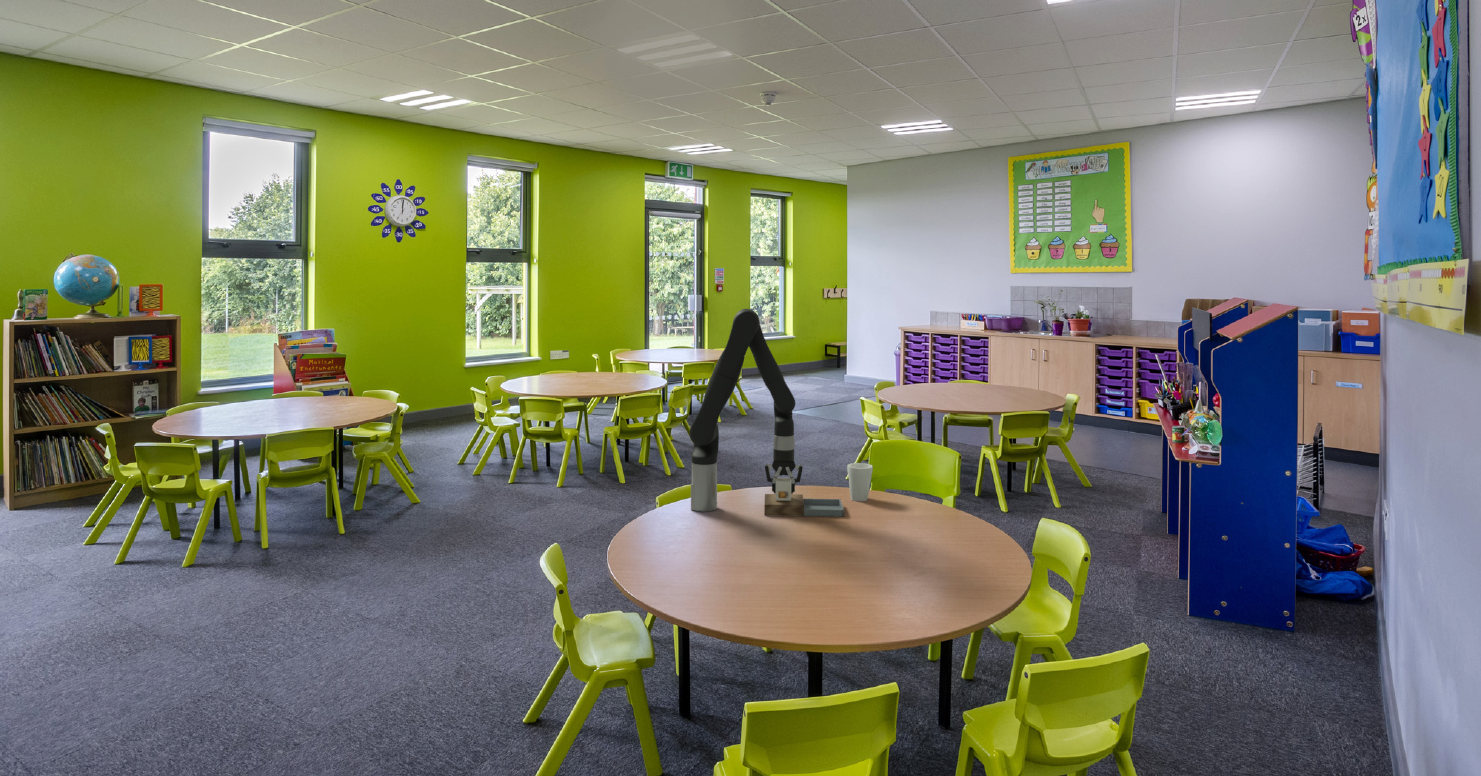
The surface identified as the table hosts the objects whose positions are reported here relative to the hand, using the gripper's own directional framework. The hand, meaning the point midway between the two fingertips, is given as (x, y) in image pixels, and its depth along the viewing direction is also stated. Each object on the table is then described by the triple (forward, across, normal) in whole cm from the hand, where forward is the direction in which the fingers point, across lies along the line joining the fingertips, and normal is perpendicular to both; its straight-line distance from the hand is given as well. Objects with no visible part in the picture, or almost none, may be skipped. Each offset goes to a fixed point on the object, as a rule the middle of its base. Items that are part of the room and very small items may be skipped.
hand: (783, 492), depth 281 cm
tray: (+6, +14, 0) cm, 16 cm away
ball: (+1, -1, 0) cm, 1 cm away
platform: (+6, 0, 0) cm, 6 cm away
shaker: (+2, 0, 0) cm, 2 cm away
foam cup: (+7, +29, +16) cm, 34 cm away
